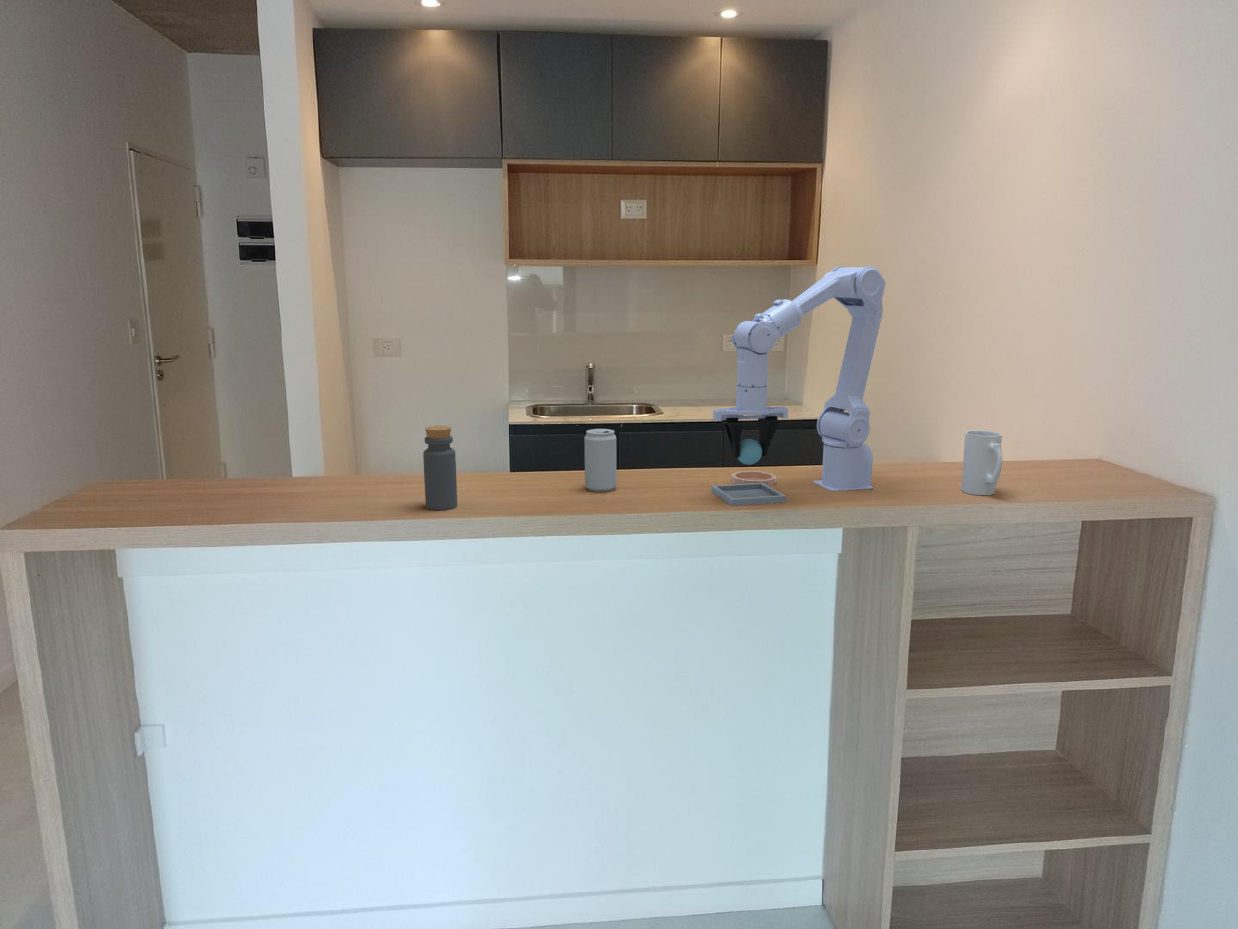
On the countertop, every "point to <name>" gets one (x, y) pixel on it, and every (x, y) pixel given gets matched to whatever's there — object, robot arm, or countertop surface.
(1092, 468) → the countertop surface
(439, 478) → the bottle
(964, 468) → the mug
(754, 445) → the ball
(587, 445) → the beverage can
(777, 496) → the tray
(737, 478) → the dish
